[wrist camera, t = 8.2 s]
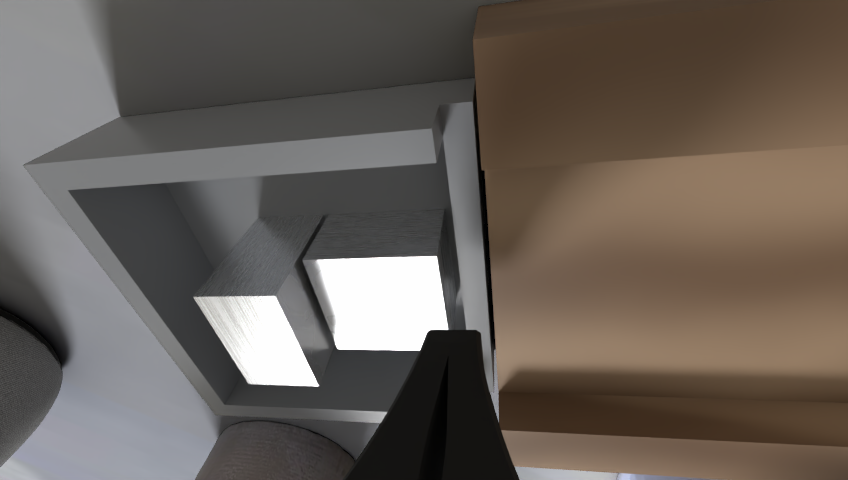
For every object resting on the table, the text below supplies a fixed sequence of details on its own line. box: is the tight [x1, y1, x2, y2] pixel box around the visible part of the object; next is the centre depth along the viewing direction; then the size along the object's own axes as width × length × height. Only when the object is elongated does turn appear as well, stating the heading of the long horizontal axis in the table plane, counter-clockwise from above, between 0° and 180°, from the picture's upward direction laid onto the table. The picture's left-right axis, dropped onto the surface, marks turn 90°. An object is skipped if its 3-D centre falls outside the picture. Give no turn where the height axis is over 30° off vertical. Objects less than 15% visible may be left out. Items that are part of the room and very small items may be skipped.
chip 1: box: [193, 214, 335, 386], centre depth 14 cm, size 4×4×2 cm
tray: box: [23, 78, 494, 423], centre depth 14 cm, size 12×12×4 cm
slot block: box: [473, 0, 848, 480], centre depth 12 cm, size 15×14×4 cm
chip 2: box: [302, 208, 456, 350], centre depth 14 cm, size 4×4×2 cm
